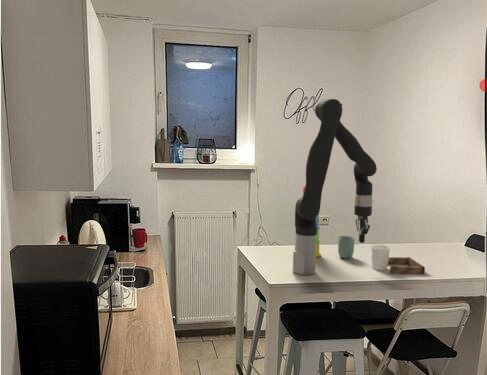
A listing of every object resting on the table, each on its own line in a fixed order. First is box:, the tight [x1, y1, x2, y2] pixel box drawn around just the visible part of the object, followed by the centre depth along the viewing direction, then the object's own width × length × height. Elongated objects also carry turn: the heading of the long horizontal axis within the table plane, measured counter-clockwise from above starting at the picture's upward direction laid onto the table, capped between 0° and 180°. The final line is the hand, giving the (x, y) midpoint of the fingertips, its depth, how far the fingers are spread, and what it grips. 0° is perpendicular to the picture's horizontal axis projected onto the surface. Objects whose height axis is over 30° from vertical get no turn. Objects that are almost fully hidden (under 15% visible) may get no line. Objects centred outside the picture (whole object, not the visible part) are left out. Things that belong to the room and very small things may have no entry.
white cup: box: [371, 244, 391, 271], centre depth 193 cm, size 8×8×10 cm
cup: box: [337, 235, 356, 260], centre depth 208 cm, size 8×8×10 cm
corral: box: [388, 256, 426, 275], centre depth 194 cm, size 15×15×3 cm
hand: (361, 242), depth 191 cm, fingers closed
